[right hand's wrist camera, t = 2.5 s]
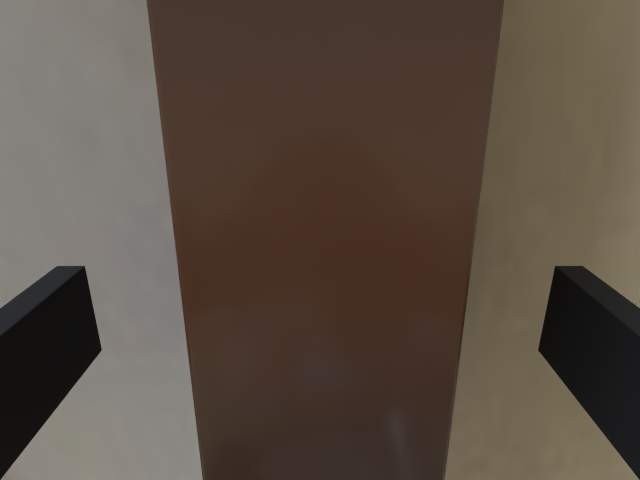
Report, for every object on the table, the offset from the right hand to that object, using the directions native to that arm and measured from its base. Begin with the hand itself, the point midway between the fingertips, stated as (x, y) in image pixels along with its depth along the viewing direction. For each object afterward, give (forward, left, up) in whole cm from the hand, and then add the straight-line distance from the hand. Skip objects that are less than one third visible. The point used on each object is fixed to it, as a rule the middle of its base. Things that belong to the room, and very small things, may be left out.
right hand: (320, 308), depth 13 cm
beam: (+9, 0, -4) cm, 9 cm away
